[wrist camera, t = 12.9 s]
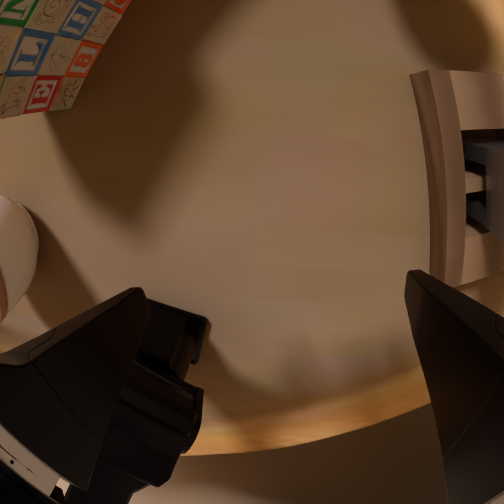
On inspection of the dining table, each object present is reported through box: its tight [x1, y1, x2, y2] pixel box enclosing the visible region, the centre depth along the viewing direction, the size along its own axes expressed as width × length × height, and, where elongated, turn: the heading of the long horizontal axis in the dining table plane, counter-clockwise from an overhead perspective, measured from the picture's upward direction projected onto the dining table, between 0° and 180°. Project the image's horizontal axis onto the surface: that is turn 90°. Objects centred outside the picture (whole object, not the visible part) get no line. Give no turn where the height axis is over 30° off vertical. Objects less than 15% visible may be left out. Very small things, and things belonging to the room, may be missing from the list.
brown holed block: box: [410, 70, 504, 287], centre depth 16 cm, size 10×16×3 cm, turn 15°
